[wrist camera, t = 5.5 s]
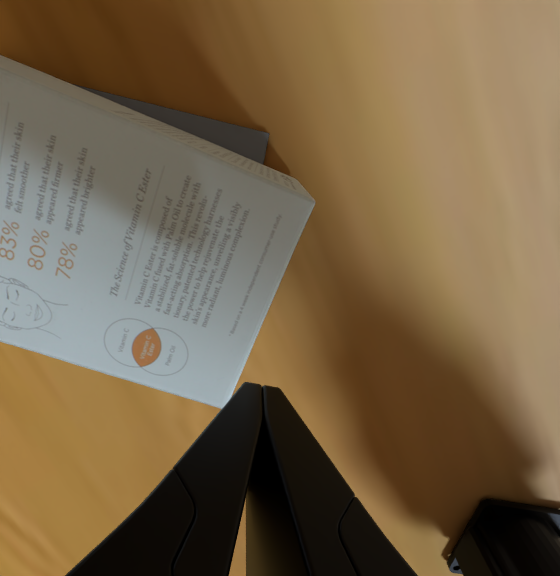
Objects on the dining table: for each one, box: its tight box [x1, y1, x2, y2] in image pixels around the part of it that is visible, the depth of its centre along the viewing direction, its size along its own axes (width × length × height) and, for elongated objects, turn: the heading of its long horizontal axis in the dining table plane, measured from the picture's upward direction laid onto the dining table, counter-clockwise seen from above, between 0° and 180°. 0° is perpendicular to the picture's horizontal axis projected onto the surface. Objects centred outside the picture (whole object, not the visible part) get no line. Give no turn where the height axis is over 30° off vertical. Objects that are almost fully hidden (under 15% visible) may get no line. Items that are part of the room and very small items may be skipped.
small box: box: [0, 55, 315, 409], centre depth 14 cm, size 8×6×13 cm
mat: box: [72, 84, 269, 165], centre depth 17 cm, size 14×12×1 cm
